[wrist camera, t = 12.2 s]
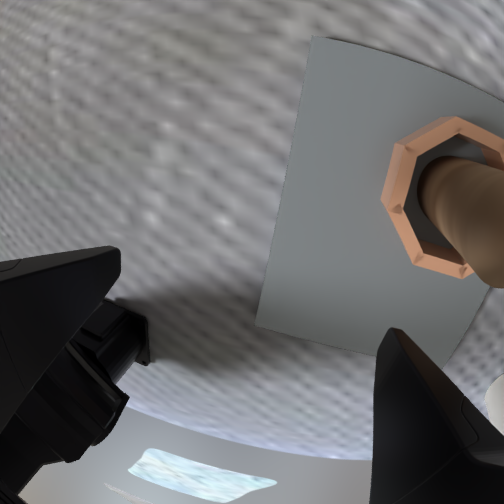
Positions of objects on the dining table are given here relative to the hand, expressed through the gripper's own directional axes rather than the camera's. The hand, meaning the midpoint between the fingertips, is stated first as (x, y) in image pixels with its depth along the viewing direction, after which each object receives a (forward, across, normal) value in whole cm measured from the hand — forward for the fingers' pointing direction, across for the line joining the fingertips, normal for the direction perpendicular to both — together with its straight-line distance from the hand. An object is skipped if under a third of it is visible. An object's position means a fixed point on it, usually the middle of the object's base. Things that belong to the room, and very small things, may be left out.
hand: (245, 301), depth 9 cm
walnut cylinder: (+10, -9, -4) cm, 14 cm away
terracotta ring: (+11, -9, -4) cm, 15 cm away
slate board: (+11, -7, -1) cm, 14 cm away
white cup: (+11, -26, +10) cm, 31 cm away
